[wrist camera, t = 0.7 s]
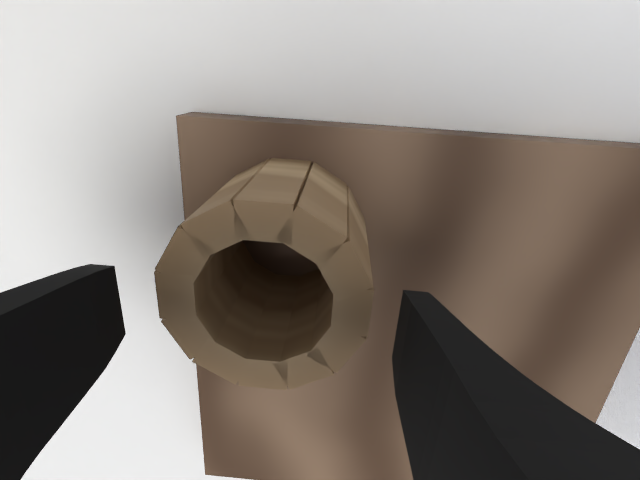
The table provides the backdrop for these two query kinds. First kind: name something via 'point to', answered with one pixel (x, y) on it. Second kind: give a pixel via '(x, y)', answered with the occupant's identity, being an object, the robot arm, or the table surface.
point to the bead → (269, 278)
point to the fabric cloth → (432, 276)
